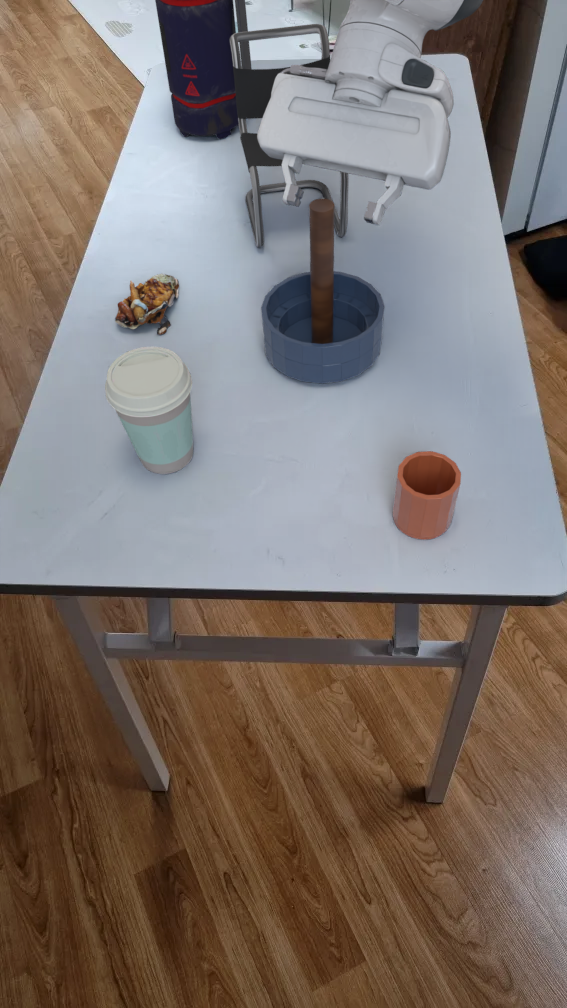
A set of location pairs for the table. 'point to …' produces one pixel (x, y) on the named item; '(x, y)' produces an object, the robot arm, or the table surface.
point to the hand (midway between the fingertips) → (330, 213)
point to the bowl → (352, 329)
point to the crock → (426, 494)
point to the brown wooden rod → (322, 269)
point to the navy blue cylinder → (202, 62)
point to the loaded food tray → (148, 303)
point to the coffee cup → (154, 406)
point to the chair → (252, 104)
